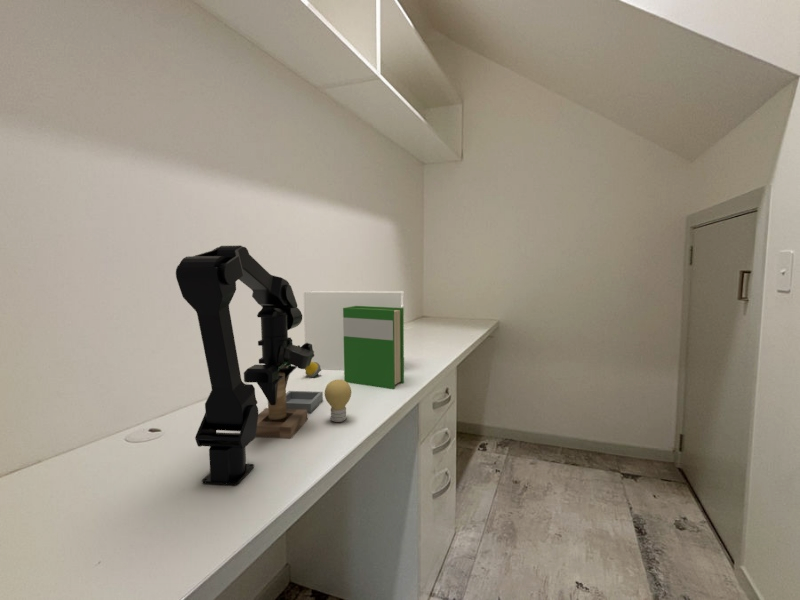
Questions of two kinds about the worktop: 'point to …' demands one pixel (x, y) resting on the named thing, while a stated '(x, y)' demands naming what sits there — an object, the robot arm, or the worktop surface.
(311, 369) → the ice cream cone
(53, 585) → the worktop surface
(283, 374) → the dowel
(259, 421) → the square wooden frame
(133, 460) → the worktop surface
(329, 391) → the light bulb
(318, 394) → the tray
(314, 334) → the white flat rectangular panel
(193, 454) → the worktop surface
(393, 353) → the hardback book
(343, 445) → the worktop surface
